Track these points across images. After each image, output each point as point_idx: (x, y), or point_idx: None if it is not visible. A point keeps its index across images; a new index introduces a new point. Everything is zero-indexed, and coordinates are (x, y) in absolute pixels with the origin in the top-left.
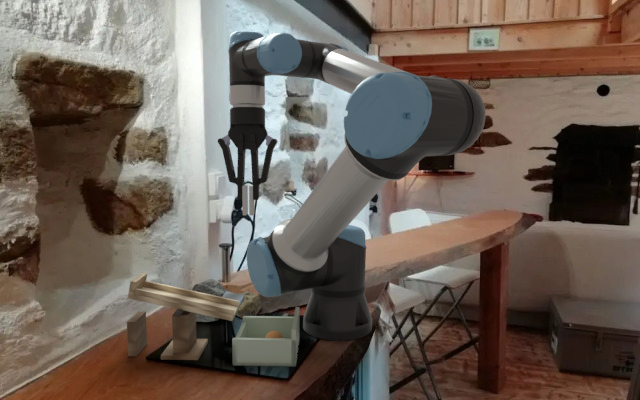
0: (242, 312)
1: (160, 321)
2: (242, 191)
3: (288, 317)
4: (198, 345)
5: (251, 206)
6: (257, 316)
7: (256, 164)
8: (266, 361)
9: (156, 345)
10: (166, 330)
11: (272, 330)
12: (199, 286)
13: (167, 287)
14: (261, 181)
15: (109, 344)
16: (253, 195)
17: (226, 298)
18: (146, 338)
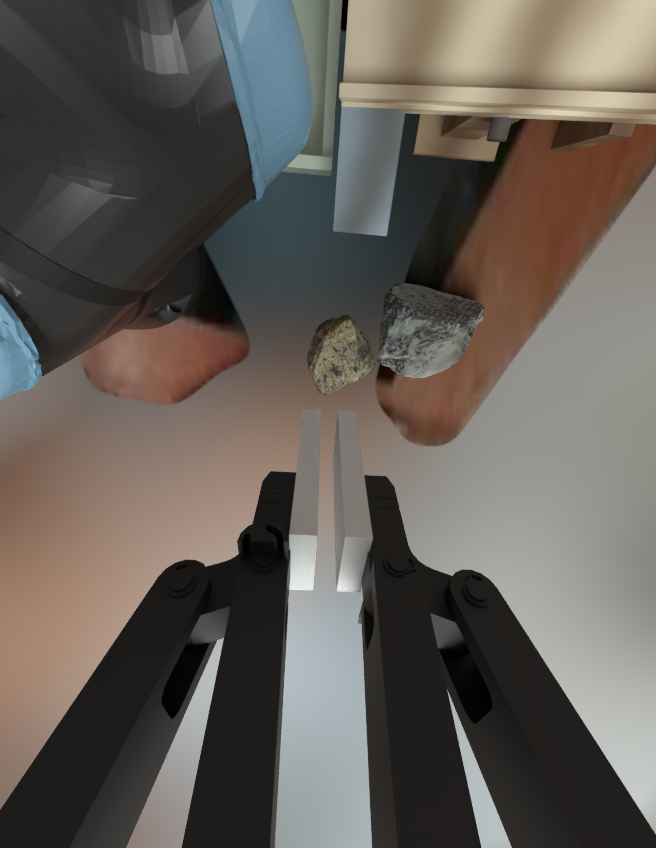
0: (343, 318)
1: (511, 301)
2: (366, 504)
3: None
4: None
5: (307, 436)
6: (293, 164)
7: (196, 810)
8: None
9: (530, 140)
10: (501, 244)
11: None
12: (454, 321)
13: (601, 94)
14: (203, 570)
15: (635, 153)
16: (292, 492)
17: (383, 92)
18: (561, 142)
